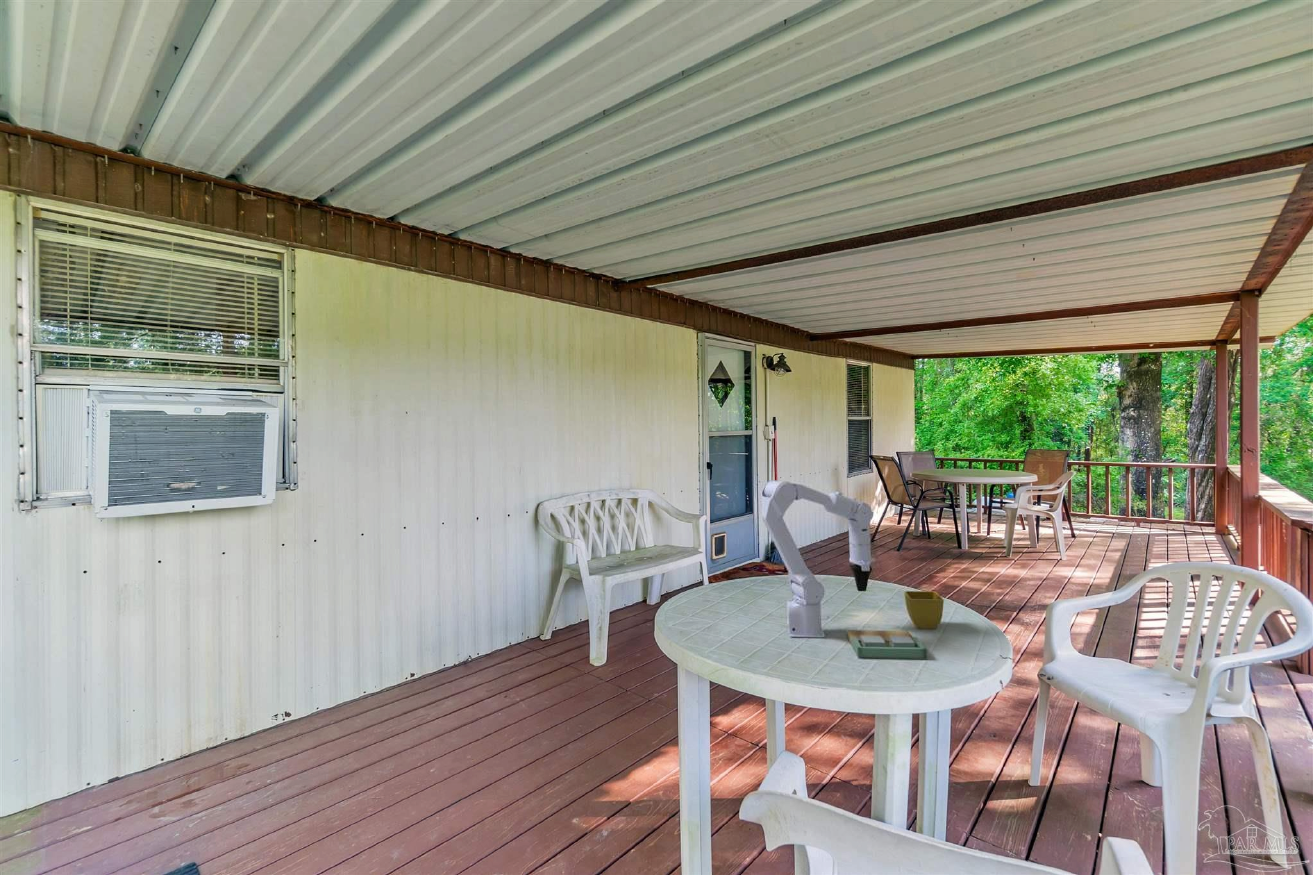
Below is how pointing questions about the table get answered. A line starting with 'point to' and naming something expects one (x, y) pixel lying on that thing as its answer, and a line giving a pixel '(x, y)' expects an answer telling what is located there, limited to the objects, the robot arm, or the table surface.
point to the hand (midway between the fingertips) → (861, 590)
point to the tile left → (872, 641)
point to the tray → (890, 651)
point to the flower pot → (924, 608)
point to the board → (875, 634)
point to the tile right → (901, 641)
